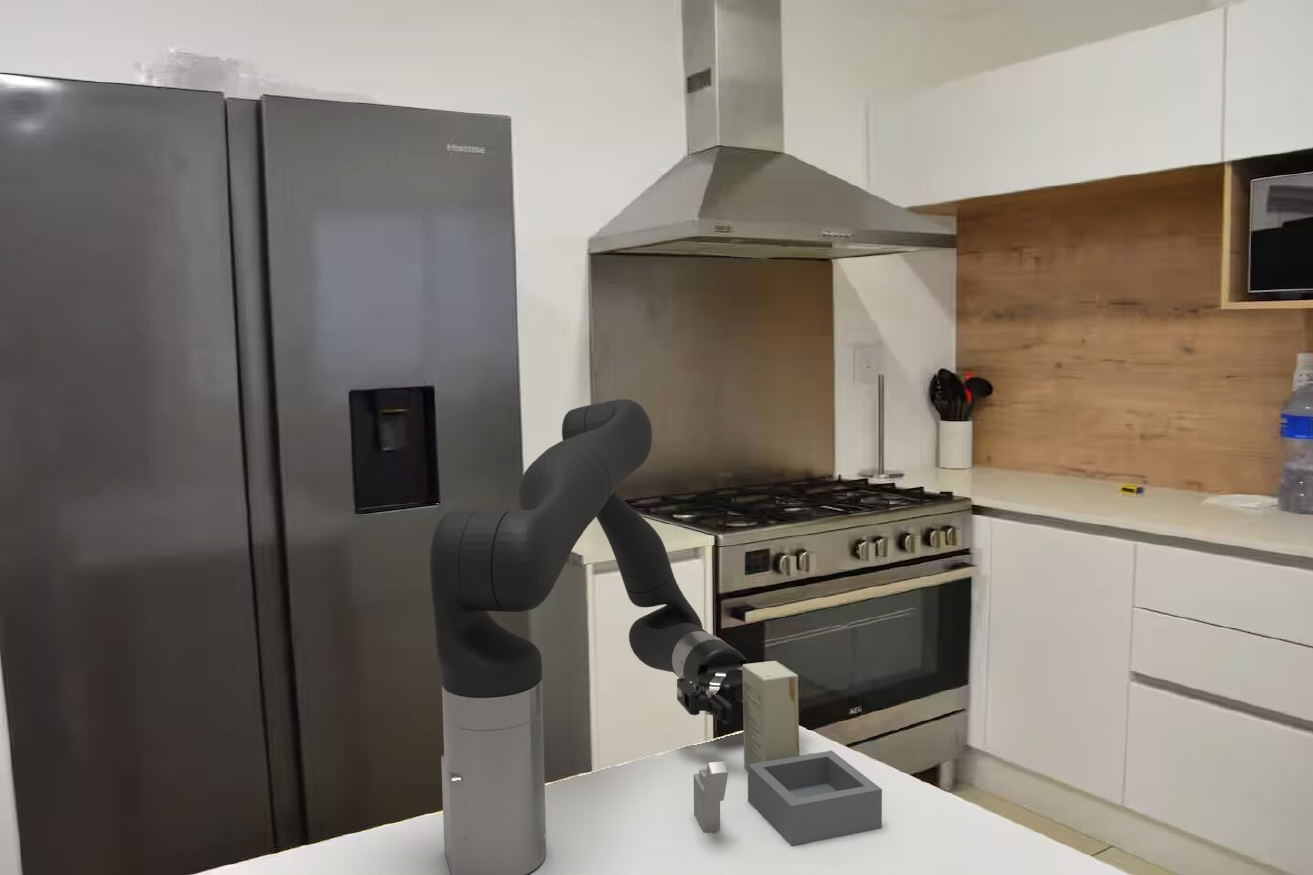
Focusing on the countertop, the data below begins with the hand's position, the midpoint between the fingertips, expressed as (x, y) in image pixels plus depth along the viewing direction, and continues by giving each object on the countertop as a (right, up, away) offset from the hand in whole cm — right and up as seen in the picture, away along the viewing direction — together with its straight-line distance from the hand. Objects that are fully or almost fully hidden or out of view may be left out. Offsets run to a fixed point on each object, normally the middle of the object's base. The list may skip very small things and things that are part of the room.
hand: (764, 710), depth 111 cm
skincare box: (+1, -7, -1) cm, 7 cm away
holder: (+4, -8, -10) cm, 13 cm away
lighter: (-7, -9, -13) cm, 17 cm away
